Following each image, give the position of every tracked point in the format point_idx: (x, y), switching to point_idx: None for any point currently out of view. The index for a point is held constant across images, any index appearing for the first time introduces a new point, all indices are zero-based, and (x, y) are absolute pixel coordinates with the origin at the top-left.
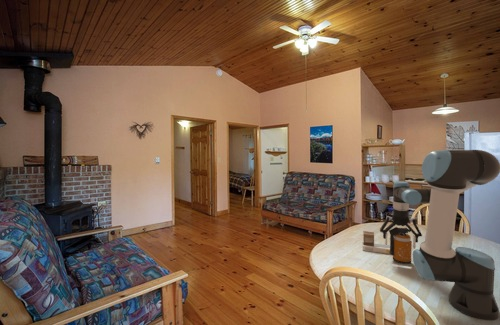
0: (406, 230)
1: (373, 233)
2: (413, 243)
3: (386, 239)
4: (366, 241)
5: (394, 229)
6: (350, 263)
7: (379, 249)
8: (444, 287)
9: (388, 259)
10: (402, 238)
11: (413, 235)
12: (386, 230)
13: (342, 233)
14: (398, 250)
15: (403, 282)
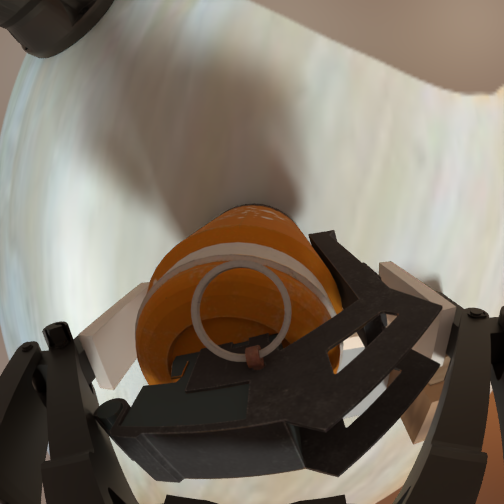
0: (148, 418)
1: (423, 426)
2: None
3: (411, 280)
4: (447, 359)
5: (364, 419)
6: (482, 127)
7: None
8: (97, 69)
9: None
10: (233, 255)
11: (109, 386)
12: (479, 337)
13: None
14: (280, 219)
15: (254, 13)
